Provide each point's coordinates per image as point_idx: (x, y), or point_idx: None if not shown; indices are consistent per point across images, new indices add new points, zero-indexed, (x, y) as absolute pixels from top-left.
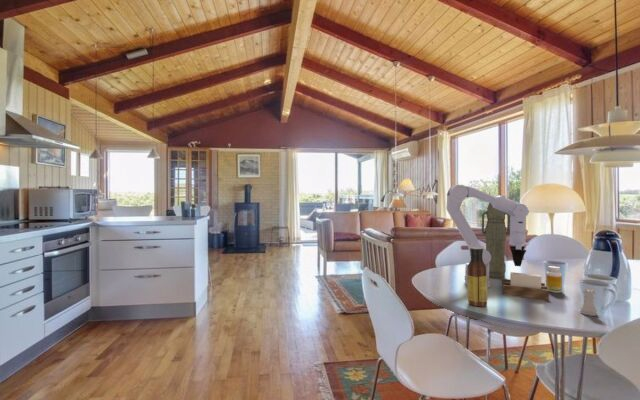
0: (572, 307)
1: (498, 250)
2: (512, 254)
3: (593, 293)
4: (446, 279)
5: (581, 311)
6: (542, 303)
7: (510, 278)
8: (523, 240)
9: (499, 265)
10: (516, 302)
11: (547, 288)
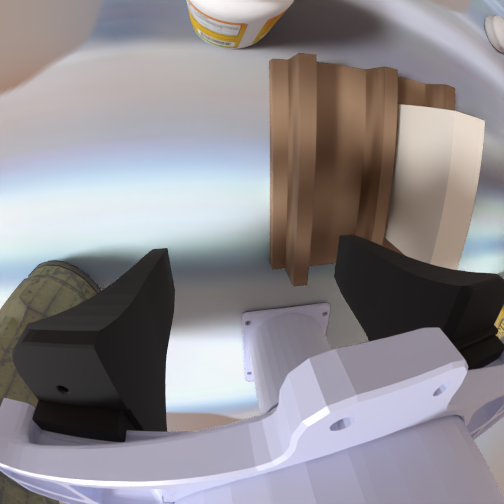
0: (466, 42)
1: None
2: (165, 360)
3: None
4: (255, 413)
5: (502, 51)
6: None
7: (410, 256)
8: (488, 472)
9: None
10: (473, 208)
11: (258, 40)
